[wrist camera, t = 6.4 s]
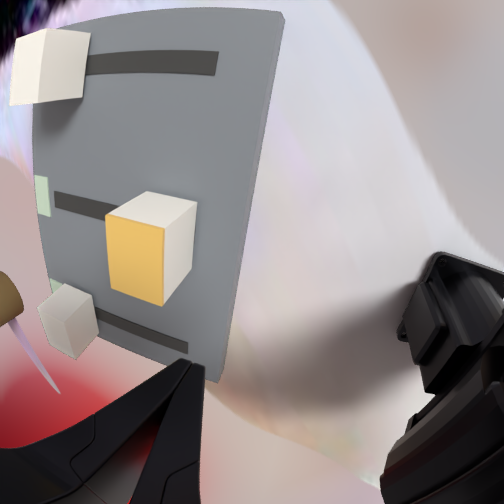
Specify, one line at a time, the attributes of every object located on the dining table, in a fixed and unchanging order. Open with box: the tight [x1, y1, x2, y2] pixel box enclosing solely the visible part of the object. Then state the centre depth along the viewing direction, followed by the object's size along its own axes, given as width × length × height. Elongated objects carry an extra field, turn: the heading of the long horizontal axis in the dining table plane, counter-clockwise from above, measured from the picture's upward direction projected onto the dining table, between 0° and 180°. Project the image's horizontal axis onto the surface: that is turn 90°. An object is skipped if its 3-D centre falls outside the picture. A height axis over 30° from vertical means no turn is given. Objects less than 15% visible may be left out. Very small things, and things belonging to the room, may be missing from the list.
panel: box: [32, 7, 285, 383], centre depth 18 cm, size 16×24×2 cm, turn 171°
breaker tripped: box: [105, 191, 197, 307], centre depth 15 cm, size 3×4×4 cm
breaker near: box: [9, 28, 91, 106], centre depth 11 cm, size 3×4×4 cm
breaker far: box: [37, 283, 99, 360], centre depth 20 cm, size 3×4×4 cm
